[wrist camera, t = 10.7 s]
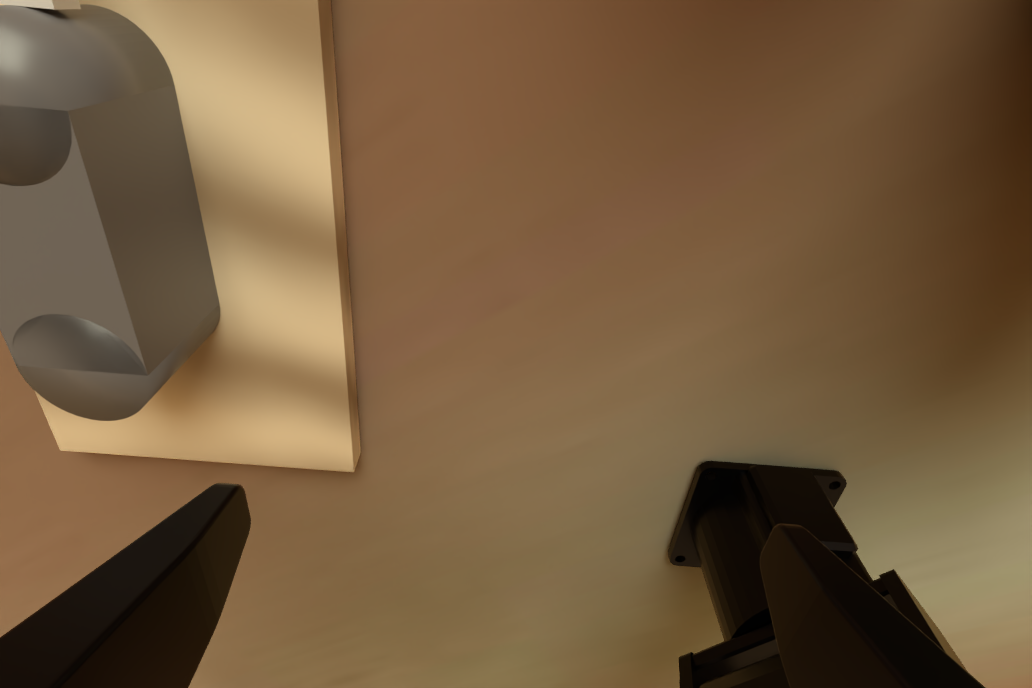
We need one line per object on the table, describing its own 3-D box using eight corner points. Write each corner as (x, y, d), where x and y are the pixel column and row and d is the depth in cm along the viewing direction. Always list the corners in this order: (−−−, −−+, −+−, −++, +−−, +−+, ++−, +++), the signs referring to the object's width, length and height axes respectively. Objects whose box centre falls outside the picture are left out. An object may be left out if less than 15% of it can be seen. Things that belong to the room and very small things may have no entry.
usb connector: (228, 347, 21) (163, 425, 17) (127, 339, 20) (38, 416, 17) (140, -82, 14) (0, -112, 10) (-10, -98, 14) (-206, -134, 10)
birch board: (360, 452, 25) (353, 472, 24) (79, 431, 24) (60, 450, 23) (314, -246, 13) (297, -267, 12) (-218, -312, 13) (-282, -339, 12)
